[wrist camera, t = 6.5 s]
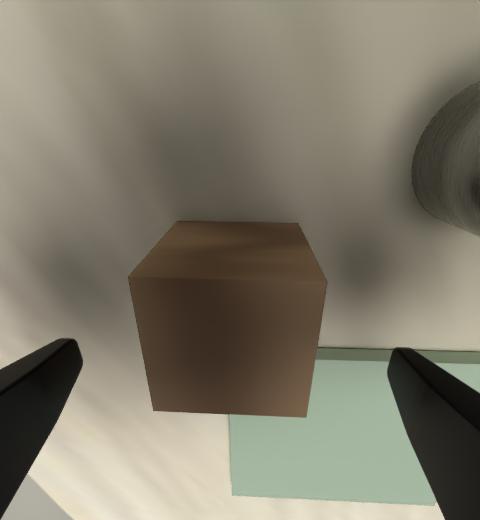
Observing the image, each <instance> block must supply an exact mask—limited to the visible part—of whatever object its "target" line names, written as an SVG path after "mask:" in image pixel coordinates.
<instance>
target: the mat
mask: <svg viewBox="0 0 480 520" xmlns="http://www.w3.org/2000/svg"><path fill="white" fill-rule="evenodd" d="M392 351H393V350H375V349H337V348H317V353H316V359H315V366H314V372H313V379H312V385H311V392H310V398H309V405H308V411H307V418H299V417H277V416H255V415H232V414H229V425H230V453H231V481H232V496H252V497H271V498H291V499H310V500H330V501H349V502H369V503H389V504H408V505H428V506H434V505H435V503H436V498H435V496H434V494H433V492H432V489H431V487H430V485H429V483H428V481H427V478H426V476H425V474H424V472H423V469H422V467H421V465H420V463H419V461H418V458H417V456H416V454H415V452H414V450H413V447H412V445H411V443H410V440H409V438H408V436H407V433H406V430H405V428H404V425H403V422H402V419H401V416H400V413H399V410H398V407H397V404H396V401H395V398H394V395H393V392H392V389H391V386H390V384H389V381H388V377H387V368H388V364H389V361H390V357H391V354H392ZM416 352H418V353H419V354H421V355H423V356H424V357H426V358H427V359H429V360H430V361H432V362H433V363H435V364H436V365H438V366H439V367H441V368H442V369H444V370H445V371H447V372H449V373H450V374H452V375H453V376H455V377H456V378H458V379H459V380H461V381H462V382H464V383H465V384H467V385H468V386H470V387H471V388H473V389H475V390H476V391H478V392H479V393H480V352H451V351H416Z"/></svg>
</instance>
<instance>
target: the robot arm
mask: <svg viewBox="0 0 480 520" xmlns="http://www.w3.org/2000/svg"><path fill="white" fill-rule="evenodd" d="M82 366H83V359H82V356H81V352H80V349H79V346H78V343H77V341H76V340H75V339H72V338H60V339H57V340H55V341H54V342H52V343H50V344H48V345H46V346H44V347H42V348H40V349H38V350H36V351H35V352H33V353H31V354H29V355H27V356H25V357H23V358H21V359H19V360H17V361H16V362H14V363H12V364H10V365H8V366H6V367H4V368H2V369H0V519H1V518H2V516H3V514H4V513H5V511H6V509H7V508H8V506H9V504H10V502H11V501H12V499H13V497H14V495H15V494H16V492H17V490H18V488H19V487H20V485H21V483H22V482H23V480H24V478H25V476H26V475H27V473H28V471H29V469H30V468H31V466H32V464H33V462H34V461H35V459H36V457H37V456H38V454H39V452H40V450H41V449H42V447H43V445H44V443H45V442H46V440H47V438H48V436H49V435H50V433H51V431H52V429H53V428H54V426H55V424H56V422H57V420H58V418H59V416H60V414H61V412H62V410H63V408H64V406H65V404H66V401H67V399H68V397H69V395H70V393H71V391H72V388H73V386H74V384H75V382H76V380H77V378H78V376H79V373H80V371H81V369H82ZM387 377H388V381H389V384H390V386H391V389H392V392H393V395H394V398H395V401H396V404H397V407H398V410H399V413H400V416H401V419H402V422H403V425H404V428H405V430H406V433H407V436H408V438H409V440H410V443H411V445H412V447H413V450H414V452H415V454H416V456H417V458H418V461H419V463H420V465H421V467H422V469H423V472H424V474H425V476H426V478H427V481H428V483H429V485H430V487H431V489H432V492H433V494H434V496H435V498H436V501H437V503H438V505H439V507H440V509H441V512H442V514H443V516H444V518H445V520H480V393H479V392H478V391H476V390H475V389H473V388H471V387H470V386H468V385H467V384H465V383H464V382H462V381H461V380H459V379H458V378H456V377H455V376H453V375H452V374H450V373H449V372H447V371H445V370H444V369H442V368H441V367H439V366H438V365H436V364H435V363H433V362H432V361H430V360H429V359H427V358H426V357H424V356H423V355H421V354H419V353H418V352H416V351H415V350H413V349H411V348H404V347H396V348H394V349H393V351H392V354H391V357H390V361H389V364H388V368H387Z"/></svg>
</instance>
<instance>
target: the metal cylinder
mask: <svg viewBox="0 0 480 520" xmlns="http://www.w3.org/2000/svg"><path fill="white" fill-rule="evenodd" d="M412 184H413V188H414V192H415V194H416V196H417V199H418V200H419V202H420V203H421V205H422V206H423V207H424V208H425V209H426V210H427V211H428V212H429V213H430V214H432V215H433V216H435V217H437V218H439V219H441V220H443V221H445V222H448V223H450V224H452V225H454V226H457V227H459V228H461V229H463V230H466V231H468V232H470V233H472V234H474V235H477V236H479V237H480V81H479V82H477V83H475V84H473V85H471V86H469V87H468V88H466V89H465V90H463V91H461V92H460V93H458V94H457V95H456V96H455V97H453V98H452V99H451V100H449V101H448V102H447V103H446V104H445V105H444V106H443V107H442V108H441V109H440V110H439V111H438V113H437V114H436V115H435V116H434V117H433V118H432V120H431V121H430V123H429V124H428V126H427V127H426V129H425V130H424V132H423V134H422V136H421V138H420V140H419V142H418V145H417V147H416V151H415V154H414V158H413V163H412Z"/></svg>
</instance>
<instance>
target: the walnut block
mask: <svg viewBox="0 0 480 520" xmlns="http://www.w3.org/2000/svg"><path fill="white" fill-rule="evenodd" d="M128 280H129V285H130V290H131V295H132V301H133V306H134V311H135V317H136V322H137V327H138V332H139V338H140V343H141V348H142V353H143V359H144V364H145V369H146V375H147V380H148V385H149V390H150V396H151V401H152V406H153V411H166V412H188V413H210V414H232V415H255V416H277V417H299V418H307V411H308V405H309V398H310V392H311V385H312V379H313V372H314V366H315V359H316V353H317V346H318V339H319V333H320V326H321V320H322V313H323V307H324V300H325V294H326V287H327V280H326V278H325V276H324V274H323V272H322V270H321V268H320V266H319V264H318V262H317V260H316V258H315V256H314V254H313V252H312V250H311V248H310V246H309V244H308V242H307V240H306V238H305V236H304V234H303V232H302V230H301V228H300V226H299V224H298V223H266V222H201V221H177V222H176V223H175V224H174V225H173V227H172V228H171V229H170V230H169V231H168V232H167V233H166V234H165V236H164V237H163V238H162V239H161V240H160V241H159V242H158V243H157V245H156V246H155V247H154V248H153V249H152V250H151V251H150V253H149V254H148V255H147V256H146V257H145V258H144V259H143V260H142V262H141V263H140V264H139V265H138V266H137V267H136V268H135V269H134V271H133V272H132V273H131V274H130V275H129V276H128Z"/></svg>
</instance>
